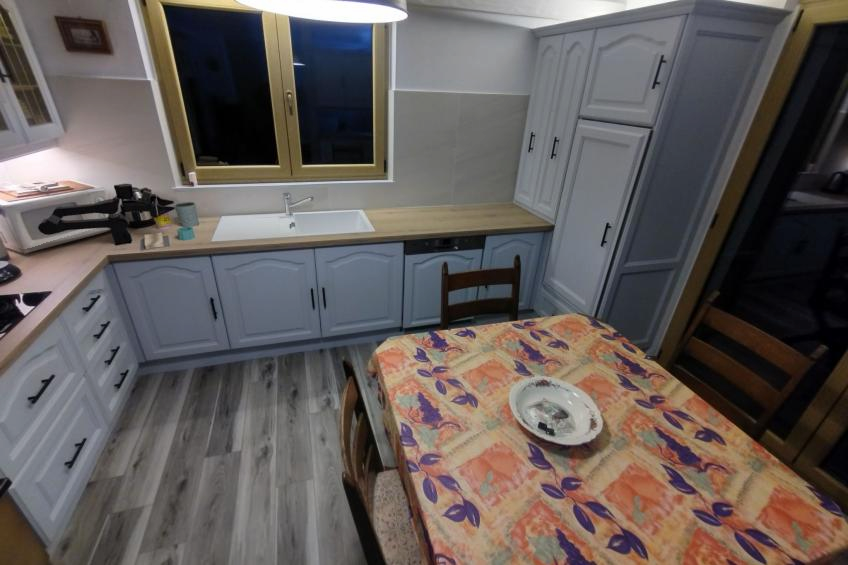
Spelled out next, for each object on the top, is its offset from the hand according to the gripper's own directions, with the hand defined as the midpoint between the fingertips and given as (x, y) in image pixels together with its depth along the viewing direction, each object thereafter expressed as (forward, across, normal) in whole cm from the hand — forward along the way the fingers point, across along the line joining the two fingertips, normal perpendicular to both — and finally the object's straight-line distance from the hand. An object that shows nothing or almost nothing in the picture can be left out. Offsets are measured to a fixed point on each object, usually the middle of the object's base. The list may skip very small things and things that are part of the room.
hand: (174, 205), depth 194 cm
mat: (-10, -9, +16) cm, 21 cm away
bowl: (+4, -8, +15) cm, 18 cm away
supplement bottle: (-6, +15, +18) cm, 25 cm away
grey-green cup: (+6, +14, +17) cm, 23 cm away
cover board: (-10, -9, +16) cm, 21 cm away
